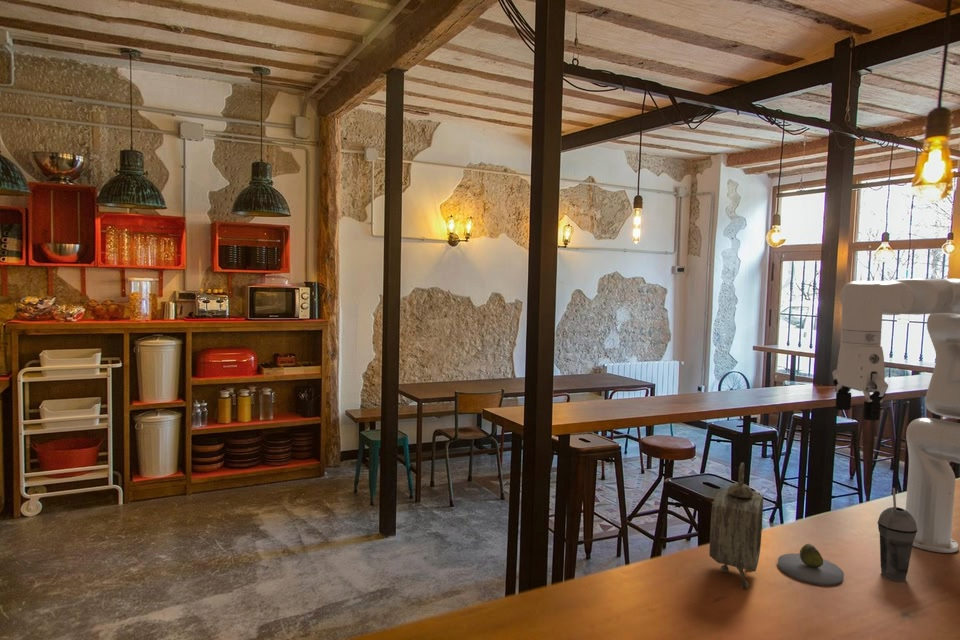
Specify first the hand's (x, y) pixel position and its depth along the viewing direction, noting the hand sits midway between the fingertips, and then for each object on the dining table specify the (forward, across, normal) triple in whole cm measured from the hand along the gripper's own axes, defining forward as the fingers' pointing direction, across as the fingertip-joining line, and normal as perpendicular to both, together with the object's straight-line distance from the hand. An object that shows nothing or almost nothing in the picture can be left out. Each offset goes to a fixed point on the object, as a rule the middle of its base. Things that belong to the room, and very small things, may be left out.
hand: (856, 414), depth 133 cm
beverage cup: (+36, -4, -8) cm, 37 cm away
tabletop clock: (+35, -4, +28) cm, 45 cm away
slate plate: (+35, -1, +10) cm, 37 cm away
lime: (+34, -1, +10) cm, 36 cm away
